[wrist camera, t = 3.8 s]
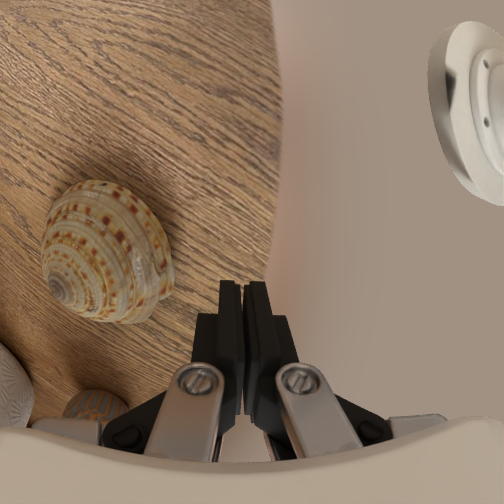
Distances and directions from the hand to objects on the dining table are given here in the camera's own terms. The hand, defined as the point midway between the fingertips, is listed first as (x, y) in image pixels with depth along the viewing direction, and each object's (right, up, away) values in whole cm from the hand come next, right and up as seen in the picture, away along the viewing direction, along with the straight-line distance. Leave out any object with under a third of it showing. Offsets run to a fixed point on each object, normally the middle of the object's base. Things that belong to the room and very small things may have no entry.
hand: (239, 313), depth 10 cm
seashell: (-8, +3, +4) cm, 9 cm away
